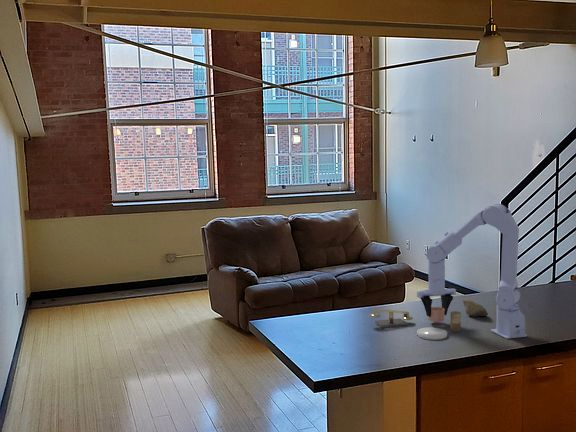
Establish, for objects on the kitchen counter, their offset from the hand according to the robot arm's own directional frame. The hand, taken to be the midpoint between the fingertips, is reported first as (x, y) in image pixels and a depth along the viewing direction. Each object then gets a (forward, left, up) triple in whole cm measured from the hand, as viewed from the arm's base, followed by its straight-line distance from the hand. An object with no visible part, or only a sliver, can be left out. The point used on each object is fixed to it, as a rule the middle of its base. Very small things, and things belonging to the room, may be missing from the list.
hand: (436, 315), depth 213 cm
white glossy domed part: (-12, +8, -3) cm, 15 cm away
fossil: (+4, -18, -3) cm, 19 cm away
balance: (+4, +16, -3) cm, 17 cm away
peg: (-10, -2, -3) cm, 11 cm away
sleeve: (0, 0, -2) cm, 2 cm away
